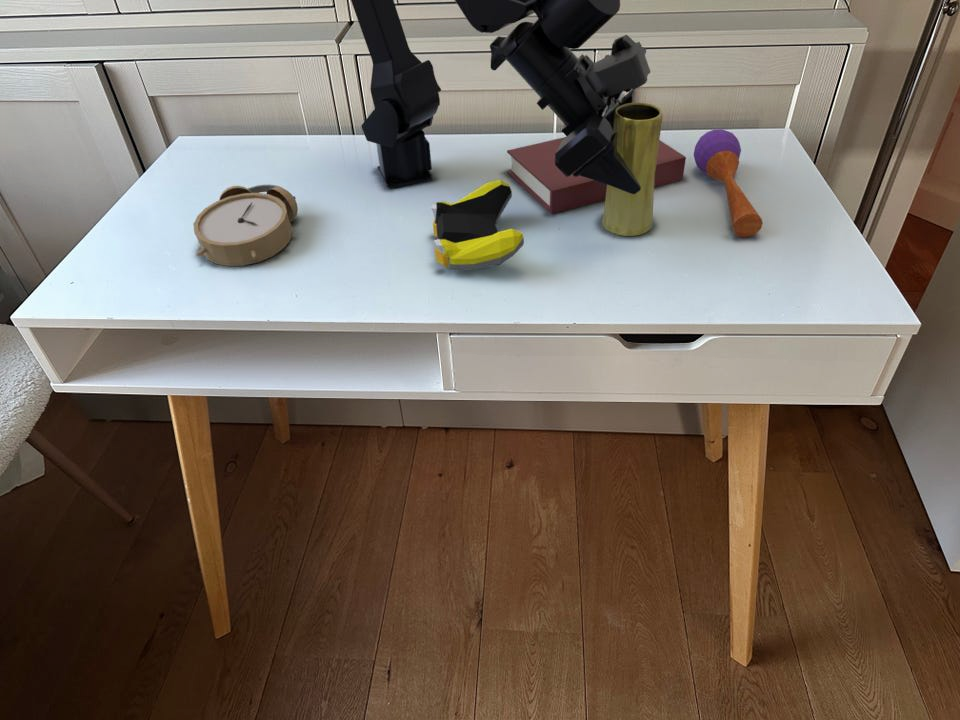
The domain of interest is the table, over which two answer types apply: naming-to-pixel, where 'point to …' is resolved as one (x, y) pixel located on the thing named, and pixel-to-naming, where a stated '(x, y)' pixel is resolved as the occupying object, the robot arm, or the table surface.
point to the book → (565, 193)
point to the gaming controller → (475, 229)
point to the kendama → (727, 177)
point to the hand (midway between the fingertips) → (643, 173)
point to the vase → (634, 169)
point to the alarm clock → (246, 225)
